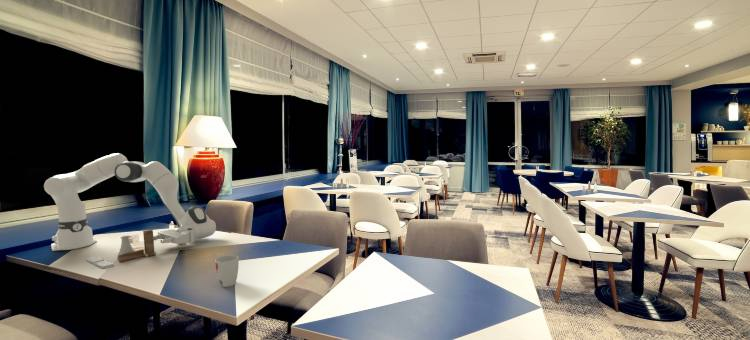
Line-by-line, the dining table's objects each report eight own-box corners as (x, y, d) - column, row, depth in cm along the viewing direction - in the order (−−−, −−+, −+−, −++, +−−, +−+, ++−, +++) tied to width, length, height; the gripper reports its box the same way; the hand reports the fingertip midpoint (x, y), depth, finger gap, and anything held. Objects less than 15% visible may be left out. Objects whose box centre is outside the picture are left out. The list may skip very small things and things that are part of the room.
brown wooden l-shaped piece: (105, 255, 172) (103, 231, 171) (137, 247, 184) (135, 225, 183) (122, 262, 161) (120, 236, 160) (155, 254, 172) (153, 229, 171)
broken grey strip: (86, 260, 166) (86, 258, 166) (96, 258, 169) (96, 256, 169) (102, 268, 155) (102, 266, 155) (113, 265, 158) (113, 263, 158)
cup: (221, 280, 138) (219, 255, 138) (242, 279, 139) (241, 254, 138) (213, 289, 130) (211, 262, 129) (236, 287, 131) (234, 261, 130)
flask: (139, 254, 173) (137, 234, 172) (127, 259, 166) (126, 238, 165) (125, 254, 174) (124, 234, 173) (113, 259, 167) (111, 238, 166)
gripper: (174, 225, 191) (146, 231, 180) (195, 230, 179) (166, 236, 168) (175, 237, 192) (147, 243, 180) (195, 242, 180) (167, 249, 169)
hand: (156, 240), depth 174 cm, fingers open, 8 cm apart
